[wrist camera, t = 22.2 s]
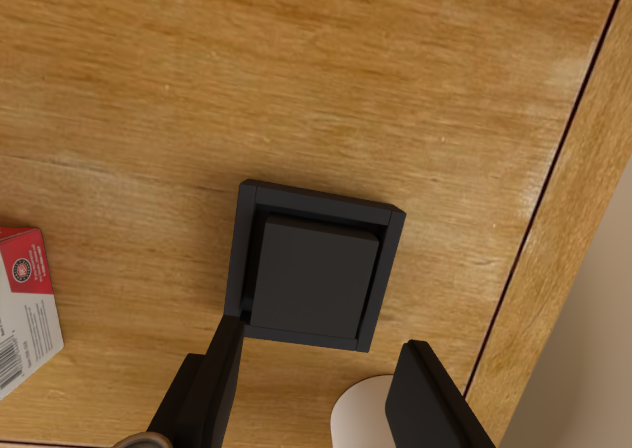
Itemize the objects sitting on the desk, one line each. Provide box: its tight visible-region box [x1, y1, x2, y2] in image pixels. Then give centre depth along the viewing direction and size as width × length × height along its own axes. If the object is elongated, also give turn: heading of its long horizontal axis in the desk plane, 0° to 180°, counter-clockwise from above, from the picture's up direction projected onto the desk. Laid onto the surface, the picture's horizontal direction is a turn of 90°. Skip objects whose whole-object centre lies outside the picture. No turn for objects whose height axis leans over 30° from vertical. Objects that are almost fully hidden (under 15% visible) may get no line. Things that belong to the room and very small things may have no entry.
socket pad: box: [223, 179, 406, 353], centre depth 18 cm, size 9×9×2 cm
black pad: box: [250, 212, 379, 339], centre depth 17 cm, size 6×6×3 cm
